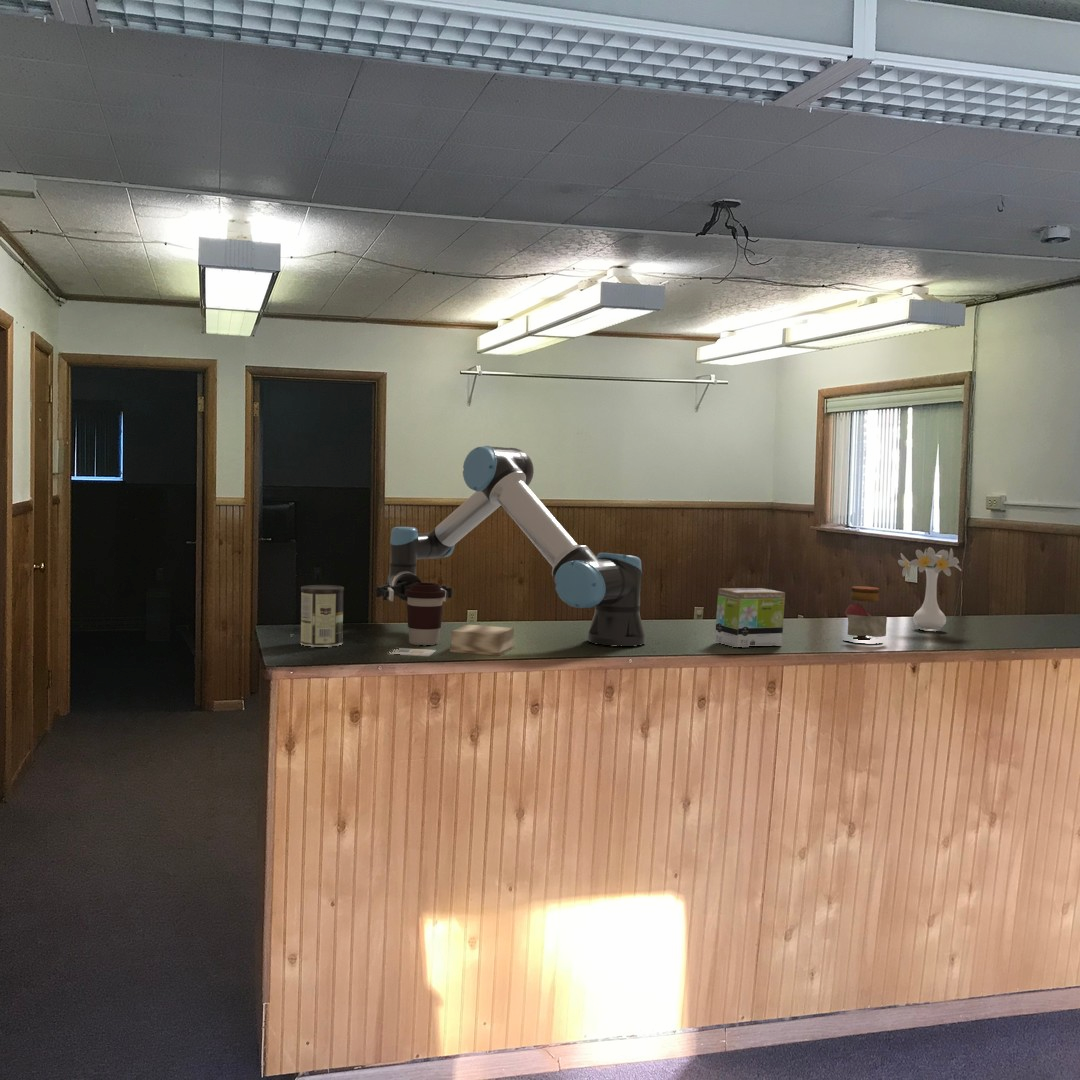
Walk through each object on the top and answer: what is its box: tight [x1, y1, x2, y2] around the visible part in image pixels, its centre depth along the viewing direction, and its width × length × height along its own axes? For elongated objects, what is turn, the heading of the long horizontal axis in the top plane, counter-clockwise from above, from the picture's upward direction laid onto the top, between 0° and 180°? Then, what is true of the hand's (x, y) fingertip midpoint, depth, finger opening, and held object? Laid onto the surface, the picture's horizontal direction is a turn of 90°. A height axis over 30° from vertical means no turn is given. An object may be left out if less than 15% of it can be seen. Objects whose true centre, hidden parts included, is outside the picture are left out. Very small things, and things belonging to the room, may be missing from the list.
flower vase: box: [897, 546, 962, 629], centre depth 322 cm, size 13×18×25 cm
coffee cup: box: [405, 582, 445, 647], centre depth 268 cm, size 10×10×15 cm
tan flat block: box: [449, 624, 515, 657], centre depth 262 cm, size 12×12×5 cm
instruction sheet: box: [388, 647, 437, 657], centre depth 256 cm, size 10×8×1 cm
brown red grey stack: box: [844, 585, 888, 640], centre depth 296 cm, size 12×13×15 cm
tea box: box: [714, 587, 786, 648], centre depth 284 cm, size 15×10×15 cm
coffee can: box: [300, 584, 345, 648], centre depth 262 cm, size 10×10×14 cm
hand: (418, 596), depth 278 cm, fingers open, 13 cm apart
